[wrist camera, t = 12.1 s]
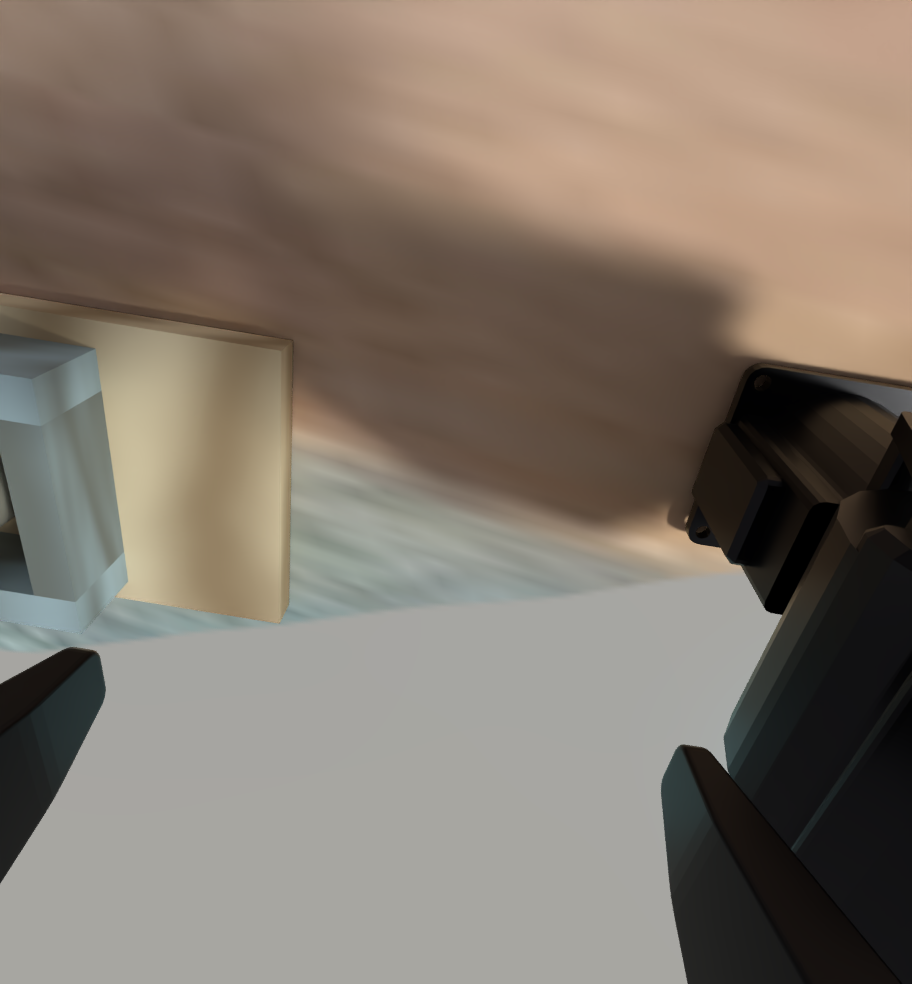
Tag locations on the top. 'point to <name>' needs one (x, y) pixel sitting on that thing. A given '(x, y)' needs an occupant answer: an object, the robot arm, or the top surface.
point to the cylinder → (5, 498)
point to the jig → (141, 465)
